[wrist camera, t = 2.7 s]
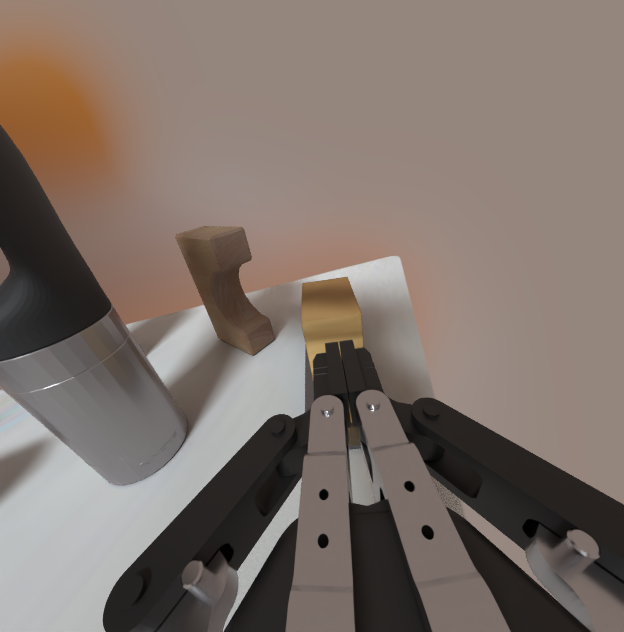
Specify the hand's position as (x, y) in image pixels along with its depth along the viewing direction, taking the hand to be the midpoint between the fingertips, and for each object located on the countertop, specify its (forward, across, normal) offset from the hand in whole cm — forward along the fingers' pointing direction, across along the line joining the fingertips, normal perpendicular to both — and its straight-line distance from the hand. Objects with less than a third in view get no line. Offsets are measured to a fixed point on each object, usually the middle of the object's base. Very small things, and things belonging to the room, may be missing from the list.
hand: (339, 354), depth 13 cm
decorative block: (+27, +16, +16) cm, 36 cm away
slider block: (+11, 0, +16) cm, 19 cm away
